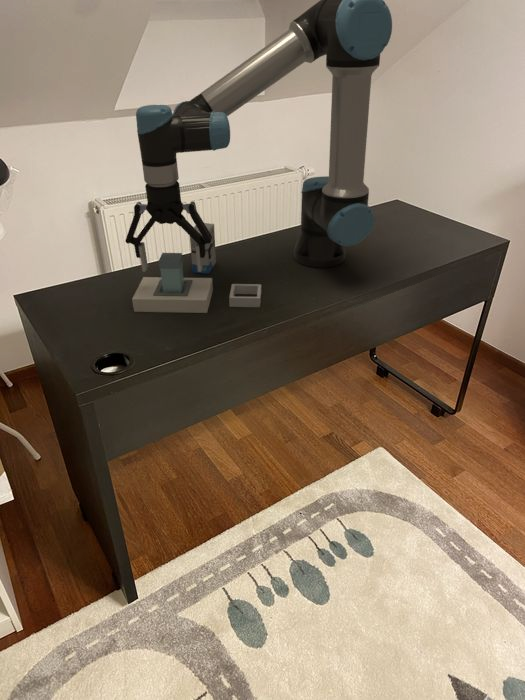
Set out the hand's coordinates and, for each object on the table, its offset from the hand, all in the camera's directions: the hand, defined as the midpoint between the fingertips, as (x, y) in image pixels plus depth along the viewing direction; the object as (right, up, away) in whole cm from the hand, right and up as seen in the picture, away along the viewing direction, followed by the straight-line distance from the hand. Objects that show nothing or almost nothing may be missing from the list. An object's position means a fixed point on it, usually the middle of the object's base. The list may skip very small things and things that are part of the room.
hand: (172, 269), depth 128 cm
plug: (0, -7, +5) cm, 9 cm away
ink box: (+6, +4, +21) cm, 22 cm away
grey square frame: (+18, -7, +5) cm, 20 cm away
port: (0, -7, +5) cm, 9 cm away
